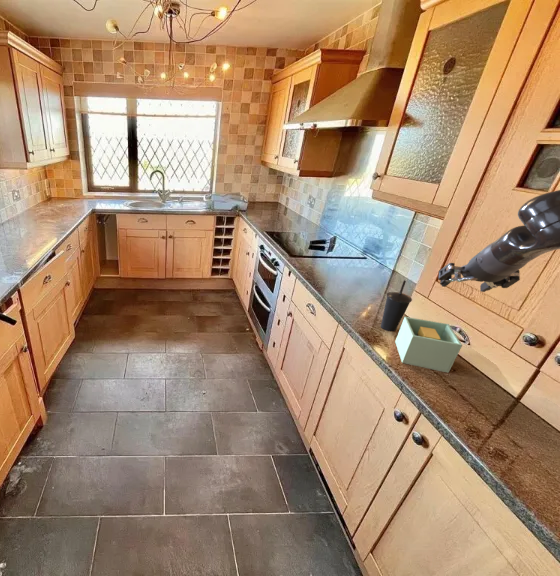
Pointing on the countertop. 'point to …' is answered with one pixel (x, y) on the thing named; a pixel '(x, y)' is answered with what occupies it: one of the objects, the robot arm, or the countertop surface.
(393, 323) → the drinking cup
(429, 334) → the yellow brown striped block
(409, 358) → the storage box
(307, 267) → the countertop surface
